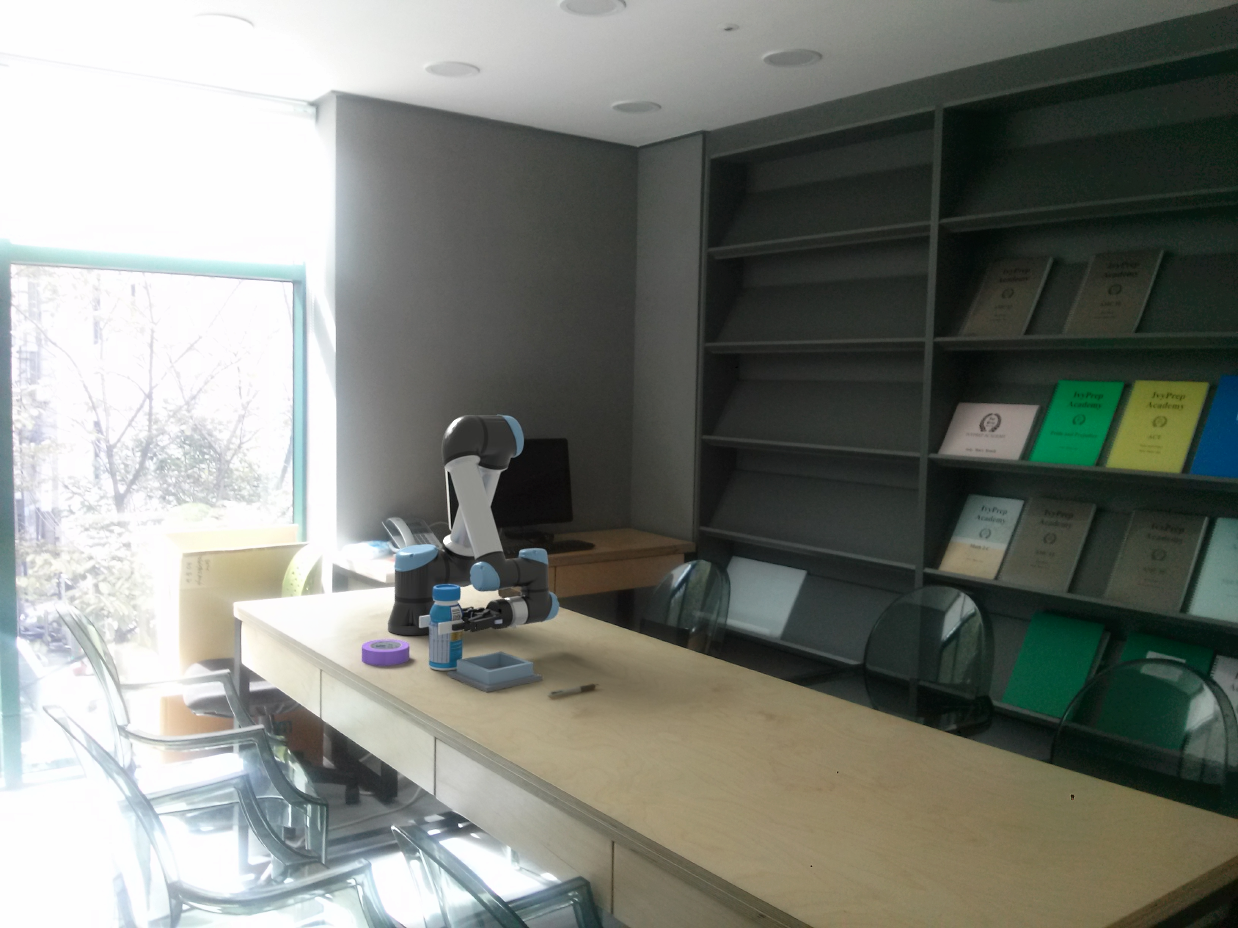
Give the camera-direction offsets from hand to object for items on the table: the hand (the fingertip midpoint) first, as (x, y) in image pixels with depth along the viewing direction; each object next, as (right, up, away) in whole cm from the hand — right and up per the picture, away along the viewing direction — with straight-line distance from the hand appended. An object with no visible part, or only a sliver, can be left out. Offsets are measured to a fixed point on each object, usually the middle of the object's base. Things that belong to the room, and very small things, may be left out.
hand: (429, 625), depth 245 cm
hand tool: (+11, -6, +82) cm, 83 cm away
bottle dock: (+16, -12, -4) cm, 21 cm away
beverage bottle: (+3, -11, +4) cm, 12 cm away
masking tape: (-13, -10, +10) cm, 19 cm away
